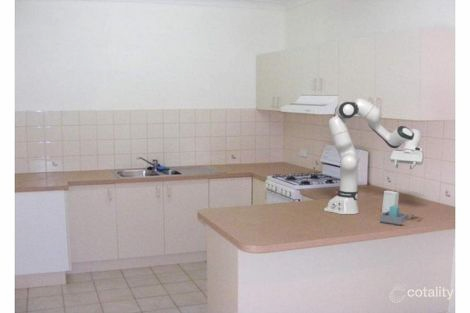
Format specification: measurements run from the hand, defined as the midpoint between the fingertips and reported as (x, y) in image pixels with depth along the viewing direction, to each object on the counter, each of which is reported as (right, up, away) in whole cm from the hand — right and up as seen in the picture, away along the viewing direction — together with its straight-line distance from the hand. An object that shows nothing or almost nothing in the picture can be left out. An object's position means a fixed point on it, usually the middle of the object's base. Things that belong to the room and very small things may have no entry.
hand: (403, 167), depth 330 cm
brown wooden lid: (+4, -32, -6) cm, 33 cm away
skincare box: (-6, -31, +11) cm, 33 cm away
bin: (-10, -33, -12) cm, 36 cm away
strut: (-10, -32, -12) cm, 36 cm away
